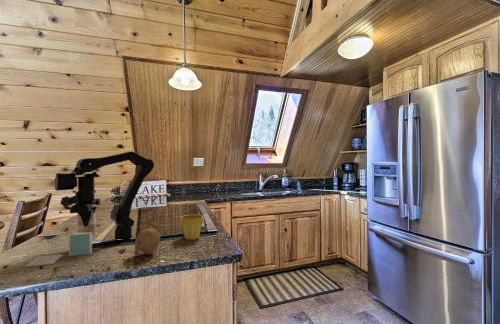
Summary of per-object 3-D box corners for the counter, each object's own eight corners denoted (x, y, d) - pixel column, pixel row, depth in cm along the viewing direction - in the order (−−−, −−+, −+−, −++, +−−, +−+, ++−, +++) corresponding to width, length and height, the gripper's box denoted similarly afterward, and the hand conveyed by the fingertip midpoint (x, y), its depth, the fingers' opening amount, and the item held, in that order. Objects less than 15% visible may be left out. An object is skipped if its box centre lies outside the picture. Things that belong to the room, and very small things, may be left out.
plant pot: (201, 233, 124) (201, 213, 124) (204, 239, 114) (204, 218, 114) (180, 235, 121) (179, 215, 121) (181, 242, 111) (181, 220, 111)
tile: (91, 251, 100) (91, 231, 100) (90, 253, 98) (90, 233, 98) (71, 253, 98) (71, 233, 98) (69, 255, 96) (69, 235, 96)
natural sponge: (134, 260, 91) (134, 233, 91) (135, 252, 99) (134, 227, 99) (161, 256, 94) (160, 230, 94) (159, 248, 103) (159, 224, 103)
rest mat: (62, 255, 96) (62, 254, 96) (53, 263, 88) (53, 262, 88) (37, 258, 94) (37, 256, 94) (25, 266, 86) (25, 265, 86)
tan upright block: (96, 233, 108) (96, 212, 108) (93, 236, 103) (92, 214, 103) (80, 234, 106) (80, 213, 106) (76, 238, 102) (75, 216, 101)
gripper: (72, 186, 111) (72, 221, 111) (53, 192, 93) (53, 233, 94) (100, 185, 114) (101, 219, 115) (87, 190, 97) (88, 231, 97)
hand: (86, 225), depth 105 cm, fingers closed on tan upright block
